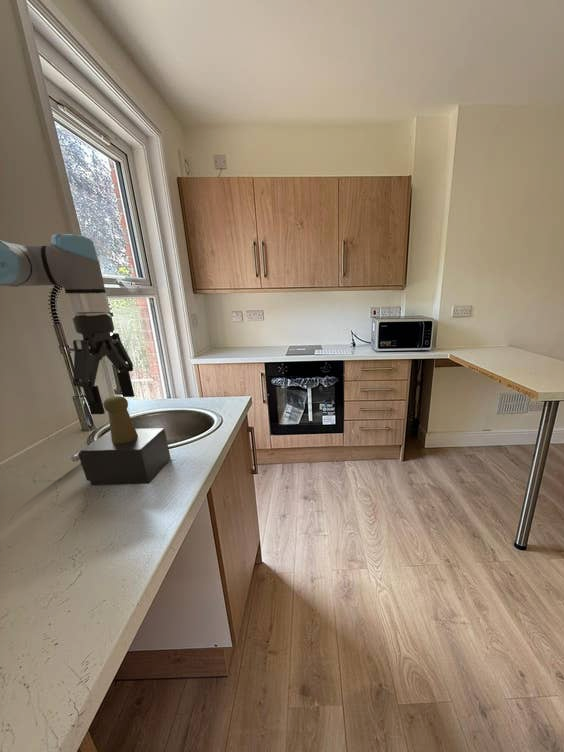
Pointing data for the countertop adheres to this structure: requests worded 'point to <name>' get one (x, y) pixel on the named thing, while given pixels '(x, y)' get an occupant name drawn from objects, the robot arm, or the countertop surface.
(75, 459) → the drawer
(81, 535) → the countertop surface
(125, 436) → the cork
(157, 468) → the cabinet
